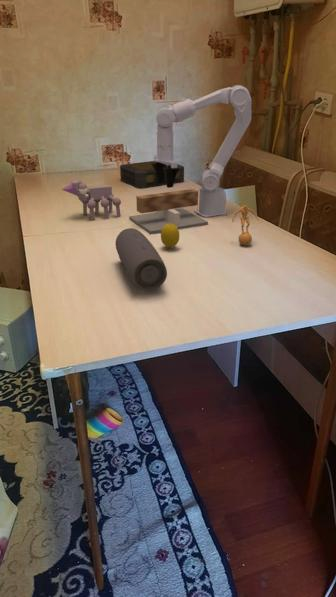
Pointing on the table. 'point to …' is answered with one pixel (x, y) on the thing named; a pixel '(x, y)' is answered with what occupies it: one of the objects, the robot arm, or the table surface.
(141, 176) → the cash box
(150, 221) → the fulcrum stand
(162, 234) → the lemon
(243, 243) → the figurine
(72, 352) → the table surface
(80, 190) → the purple toy animal
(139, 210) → the walnut beam
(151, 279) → the bluetooth speaker
